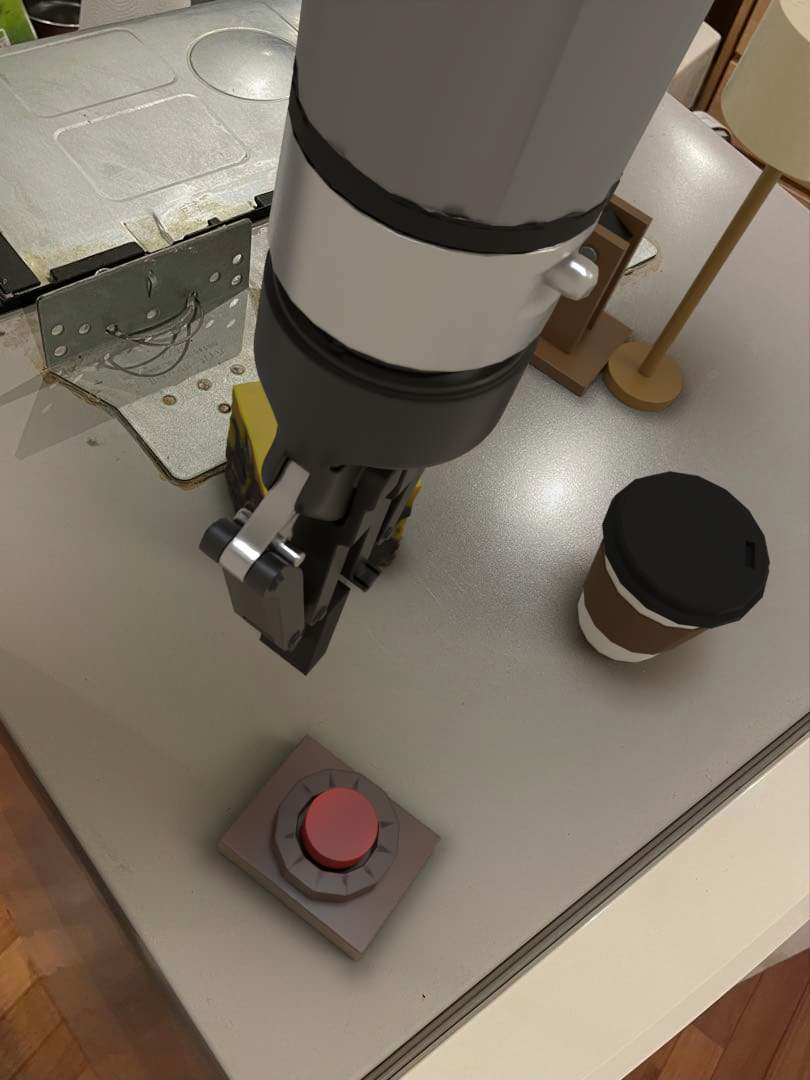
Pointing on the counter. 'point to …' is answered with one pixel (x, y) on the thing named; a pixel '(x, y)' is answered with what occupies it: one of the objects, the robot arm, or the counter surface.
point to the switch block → (302, 883)
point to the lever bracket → (591, 308)
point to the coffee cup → (671, 566)
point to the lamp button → (339, 828)
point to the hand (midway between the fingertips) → (292, 646)
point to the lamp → (786, 146)
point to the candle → (248, 451)
